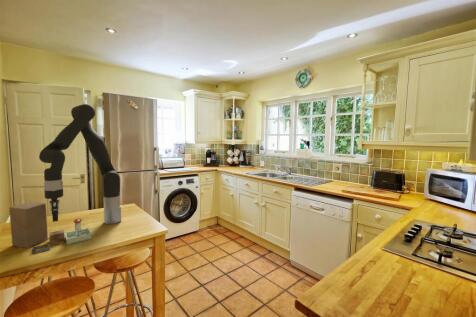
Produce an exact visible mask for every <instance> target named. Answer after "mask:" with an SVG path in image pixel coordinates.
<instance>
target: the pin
mask: <svg viewBox="0 0 476 317" xmlns="http://www.w3.org/2000/svg"><path fill="white" fill-rule="evenodd" d="M73 223H74V231H75V234H76V237H78V236H81V229H82V218H75V219H73Z"/></svg>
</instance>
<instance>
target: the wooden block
mask: <svg viewBox="0 0 476 317" xmlns="http://www.w3.org/2000/svg"><path fill="white" fill-rule="evenodd" d="M8 209H9V220H10V221H9V222H10V232H11V233H10V234H11V242H12V243H11V244H12V246H13V247H14V246H15V247H19V248H20V247H21V248H24V249H29V248H31V247H34V246H36V245H38V244H40V243H42V242H45V241H47V240H48V239H49V232H48V220H47V206H46V203H44V202H35V201H29V202H24V203H21V204H17V205H12V206H10V207H9V208H8Z"/></svg>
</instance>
